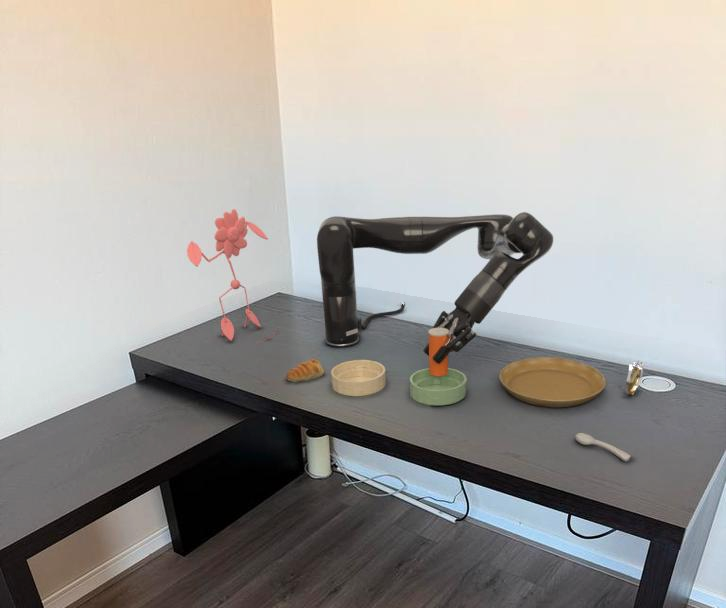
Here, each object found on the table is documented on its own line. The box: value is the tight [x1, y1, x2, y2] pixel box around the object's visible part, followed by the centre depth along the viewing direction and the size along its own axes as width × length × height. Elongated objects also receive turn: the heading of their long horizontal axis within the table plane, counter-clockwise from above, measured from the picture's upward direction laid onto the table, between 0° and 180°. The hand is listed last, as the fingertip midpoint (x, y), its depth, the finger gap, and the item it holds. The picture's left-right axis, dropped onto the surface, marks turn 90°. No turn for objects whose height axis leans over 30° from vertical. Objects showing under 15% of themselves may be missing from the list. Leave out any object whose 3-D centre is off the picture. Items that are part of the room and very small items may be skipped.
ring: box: [625, 360, 645, 396], centre depth 155 cm, size 7×3×8 cm, turn 137°
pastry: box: [286, 358, 325, 383], centre depth 173 cm, size 9×7×4 cm
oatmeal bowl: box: [330, 359, 387, 397], centre depth 167 cm, size 13×13×4 cm
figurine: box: [186, 208, 280, 345], centre depth 192 cm, size 15×26×35 cm, turn 141°
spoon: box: [575, 432, 631, 462], centre depth 137 cm, size 3×12×2 cm, turn 41°
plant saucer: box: [498, 356, 607, 408], centre depth 160 cm, size 24×24×3 cm
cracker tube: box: [427, 327, 449, 376], centre depth 156 cm, size 5×5×10 cm
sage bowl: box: [409, 367, 468, 406], centre depth 161 cm, size 13×13×4 cm
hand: (430, 357), depth 156 cm, fingers closed on cracker tube, 4 cm apart
